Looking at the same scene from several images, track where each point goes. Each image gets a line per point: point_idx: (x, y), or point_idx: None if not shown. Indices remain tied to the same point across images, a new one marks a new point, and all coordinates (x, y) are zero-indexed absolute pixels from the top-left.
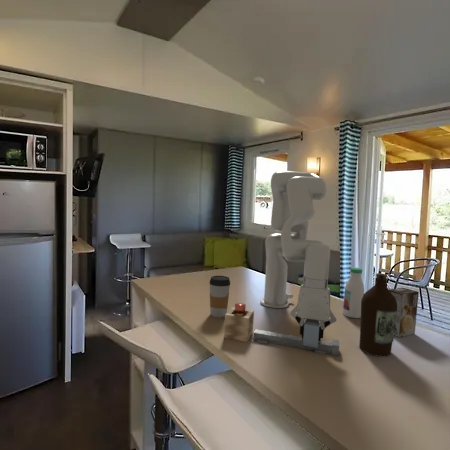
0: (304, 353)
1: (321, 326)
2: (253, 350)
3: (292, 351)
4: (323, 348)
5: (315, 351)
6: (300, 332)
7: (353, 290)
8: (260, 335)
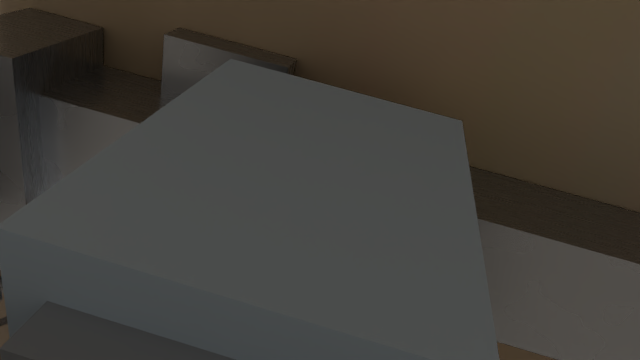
0: (441, 18)
1: (2, 330)
2: None
3: (610, 54)
4: None
5: (284, 61)
6: None
7: None
8: None
